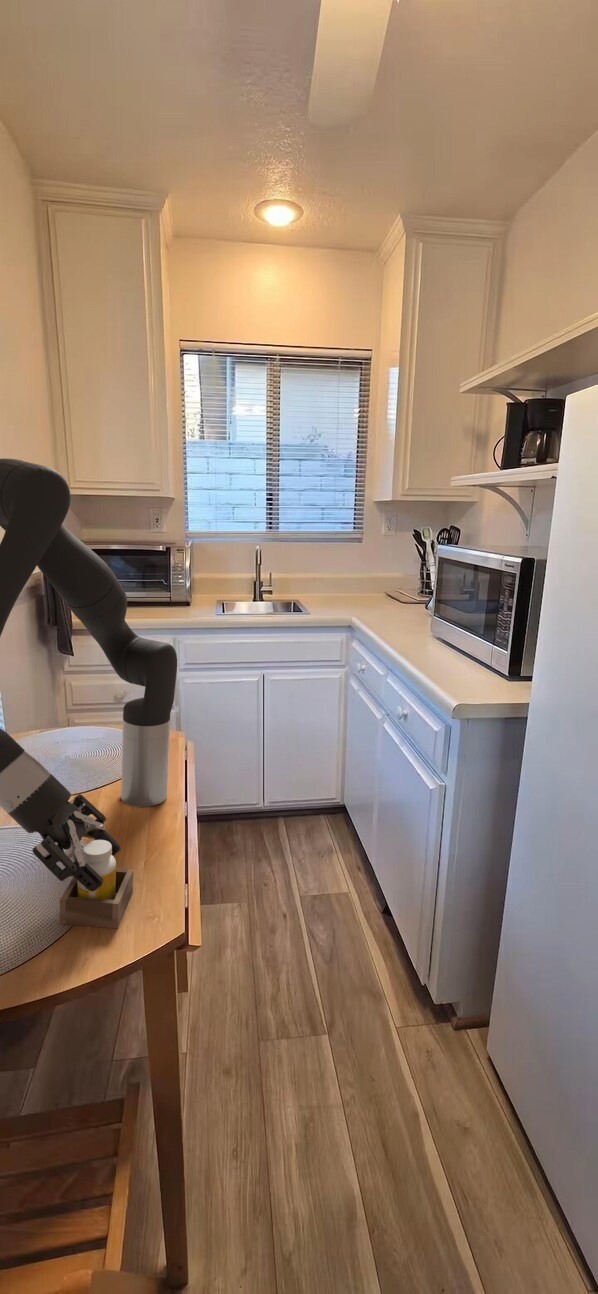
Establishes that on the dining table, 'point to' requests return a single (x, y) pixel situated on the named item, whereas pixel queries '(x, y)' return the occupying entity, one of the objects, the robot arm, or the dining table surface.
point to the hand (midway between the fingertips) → (107, 868)
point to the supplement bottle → (99, 870)
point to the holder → (97, 904)
